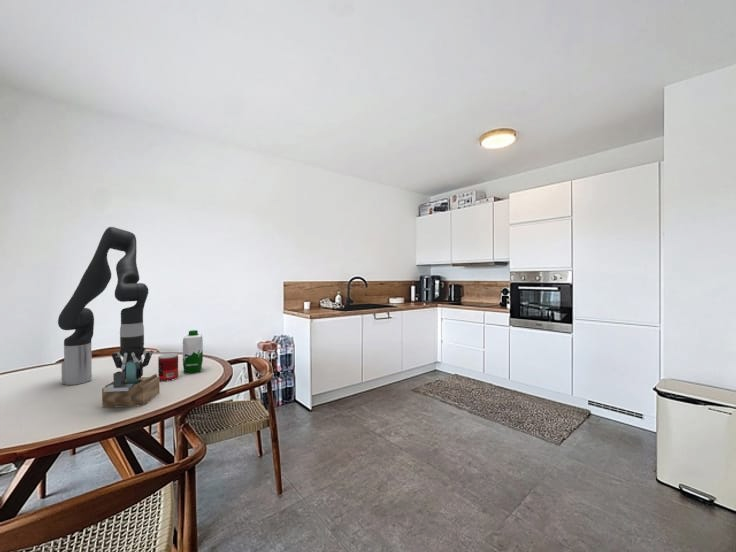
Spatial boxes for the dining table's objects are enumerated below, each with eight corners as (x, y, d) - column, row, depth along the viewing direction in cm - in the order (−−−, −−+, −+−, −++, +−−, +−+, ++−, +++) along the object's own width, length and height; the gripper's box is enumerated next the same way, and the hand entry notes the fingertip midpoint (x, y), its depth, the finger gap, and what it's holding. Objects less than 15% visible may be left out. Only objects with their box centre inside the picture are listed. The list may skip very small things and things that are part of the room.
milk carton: (203, 367, 167) (203, 329, 167) (202, 372, 159) (202, 332, 159) (184, 369, 164) (184, 330, 163) (181, 375, 155) (181, 334, 155)
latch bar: (103, 391, 115) (103, 374, 115) (111, 387, 119) (111, 371, 119) (128, 390, 116) (128, 373, 116) (134, 386, 120) (134, 370, 120)
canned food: (181, 376, 154) (181, 353, 154) (170, 381, 146) (169, 357, 146) (167, 375, 155) (166, 352, 155) (154, 381, 147) (154, 357, 147)
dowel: (123, 386, 123) (123, 362, 123) (129, 382, 127) (129, 360, 127) (135, 385, 124) (135, 362, 124) (140, 382, 128) (140, 359, 128)
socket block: (102, 407, 119) (102, 386, 118) (122, 395, 130) (122, 375, 130) (143, 405, 120) (143, 384, 120) (159, 393, 132) (159, 374, 132)
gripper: (156, 332, 130) (157, 374, 130) (118, 332, 128) (118, 375, 128) (146, 335, 122) (147, 380, 123) (105, 336, 120) (106, 382, 121)
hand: (132, 377), depth 125 cm, fingers closed on dowel, 4 cm apart
